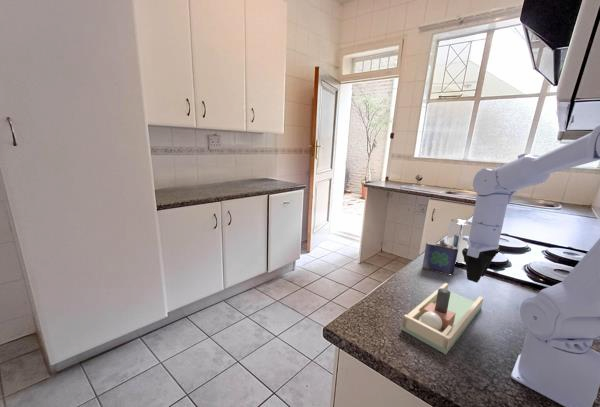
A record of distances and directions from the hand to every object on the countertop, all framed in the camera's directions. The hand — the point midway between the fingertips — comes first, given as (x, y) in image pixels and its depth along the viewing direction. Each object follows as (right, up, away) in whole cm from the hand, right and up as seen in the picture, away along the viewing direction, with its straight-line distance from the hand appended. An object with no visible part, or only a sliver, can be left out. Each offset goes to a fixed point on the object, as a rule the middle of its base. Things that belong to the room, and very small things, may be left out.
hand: (475, 277), depth 63 cm
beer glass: (+13, -3, +31) cm, 34 cm away
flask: (+3, -5, +24) cm, 25 cm away
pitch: (-8, -9, 0) cm, 12 cm away
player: (-11, -9, -4) cm, 14 cm away
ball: (-14, -7, -7) cm, 17 cm away
